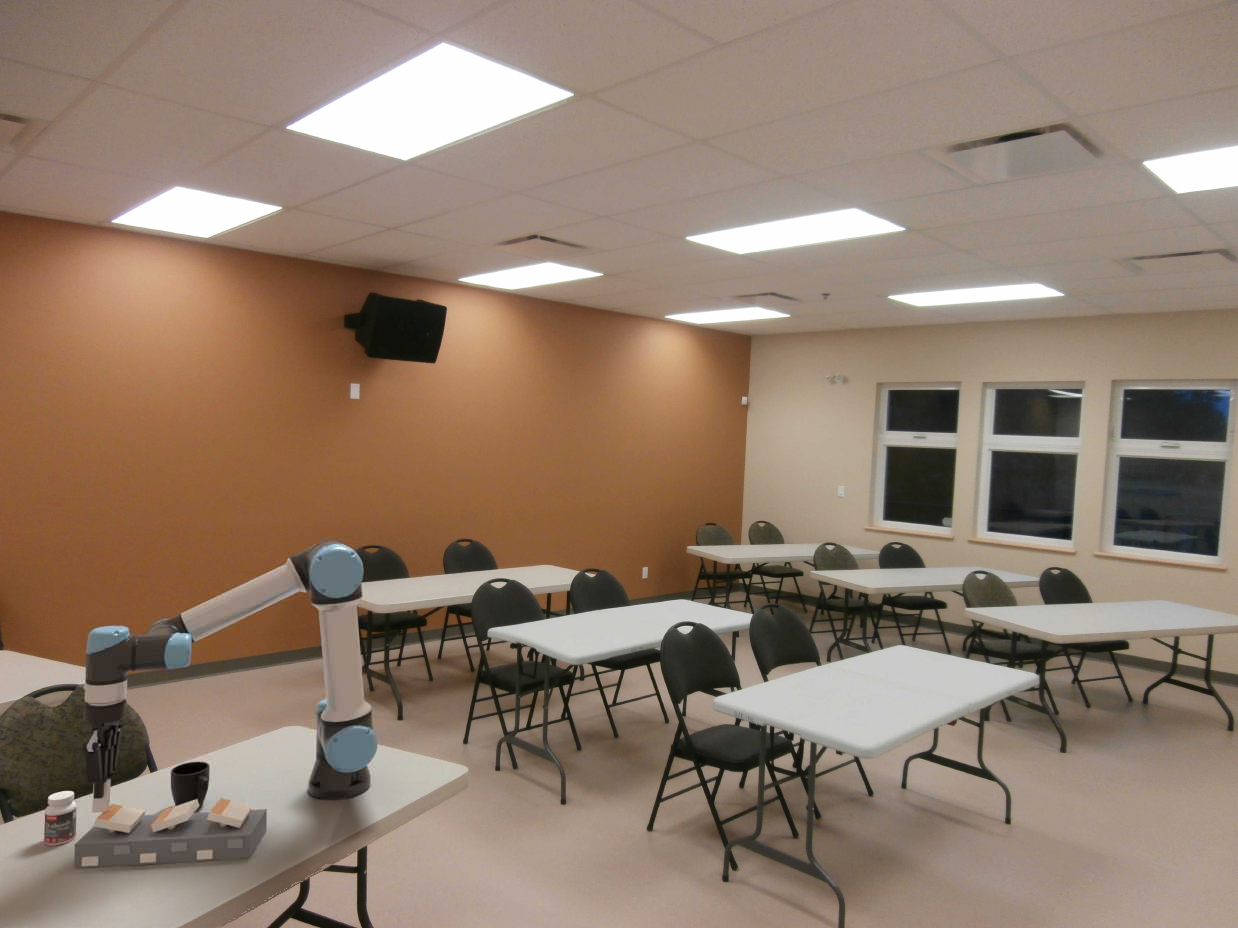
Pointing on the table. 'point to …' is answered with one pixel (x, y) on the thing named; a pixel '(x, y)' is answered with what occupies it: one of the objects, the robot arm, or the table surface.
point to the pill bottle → (60, 818)
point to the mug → (190, 782)
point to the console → (171, 842)
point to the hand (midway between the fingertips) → (100, 810)
